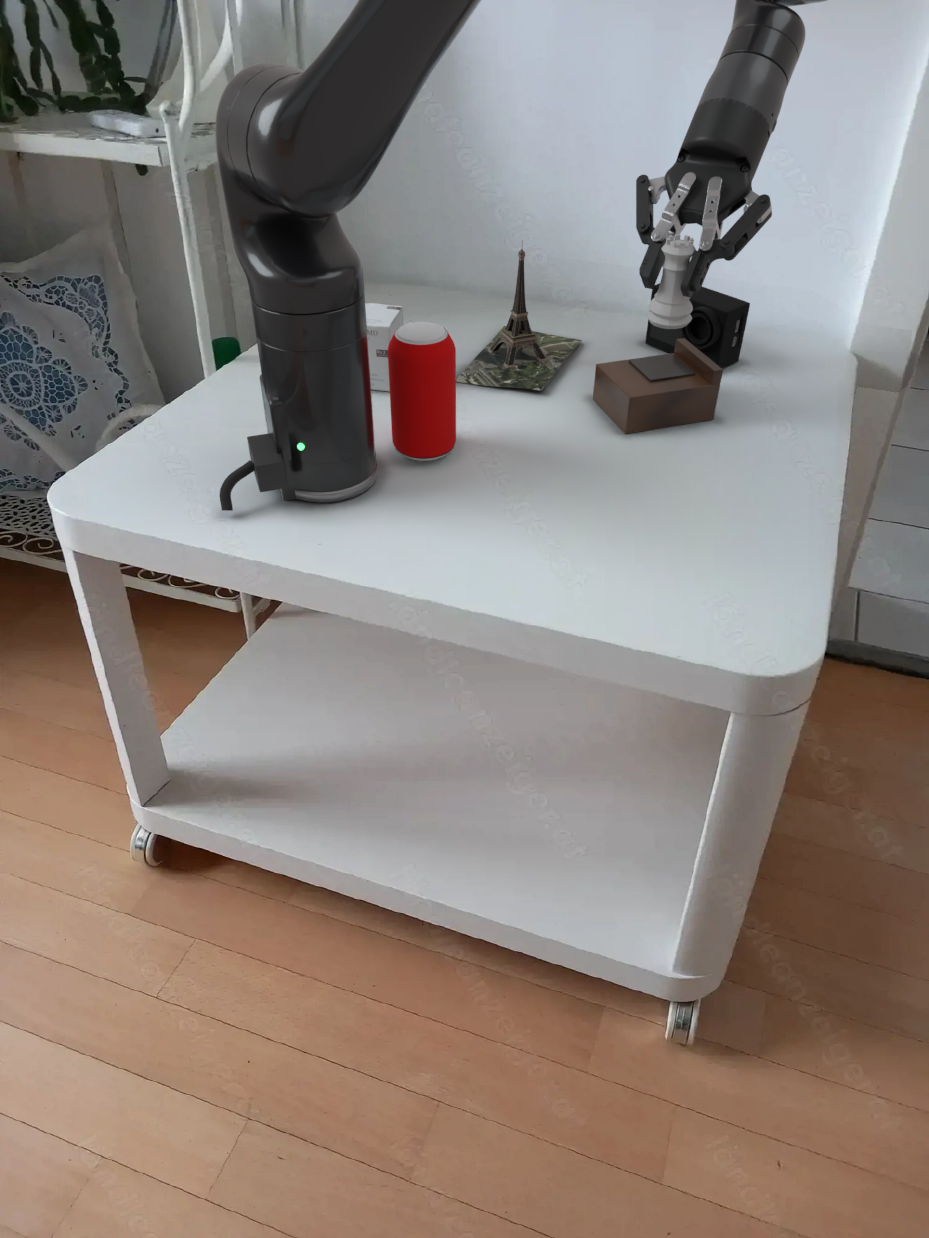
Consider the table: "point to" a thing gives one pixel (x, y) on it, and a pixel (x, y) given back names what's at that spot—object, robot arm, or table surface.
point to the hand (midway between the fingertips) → (666, 288)
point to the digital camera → (707, 327)
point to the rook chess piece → (672, 286)
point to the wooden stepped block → (659, 389)
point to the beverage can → (422, 391)
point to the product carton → (381, 340)
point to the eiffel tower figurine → (519, 350)
